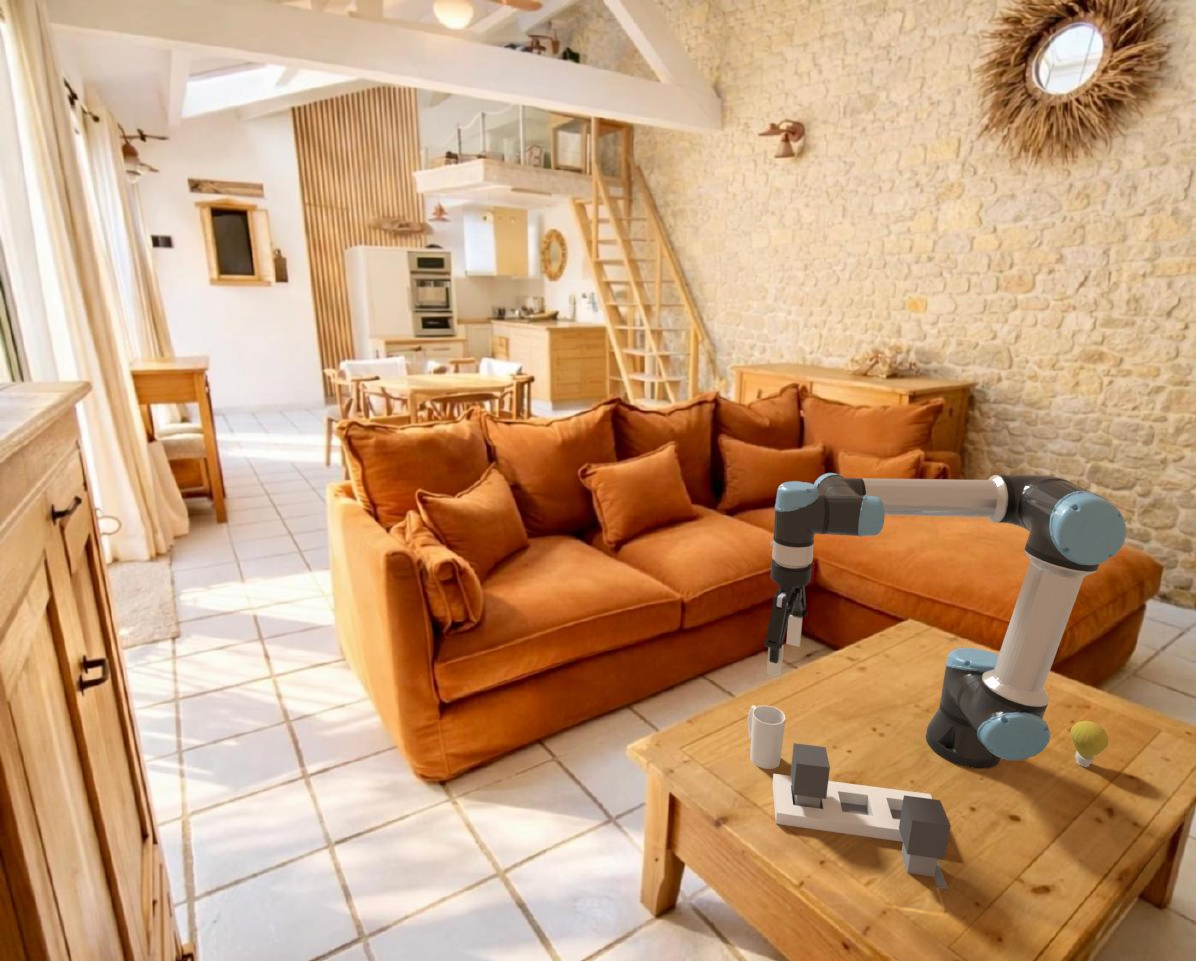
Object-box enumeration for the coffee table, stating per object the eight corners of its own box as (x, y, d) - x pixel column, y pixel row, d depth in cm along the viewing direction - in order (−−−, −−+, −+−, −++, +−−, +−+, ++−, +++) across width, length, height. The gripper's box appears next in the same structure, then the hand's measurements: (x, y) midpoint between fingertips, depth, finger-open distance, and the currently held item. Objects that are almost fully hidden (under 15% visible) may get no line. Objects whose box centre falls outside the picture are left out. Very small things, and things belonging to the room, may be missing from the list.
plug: (930, 855, 123) (940, 800, 120) (940, 883, 117) (950, 825, 114) (895, 850, 124) (903, 795, 121) (903, 877, 118) (912, 820, 115)
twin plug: (819, 798, 136) (825, 747, 133) (823, 820, 130) (829, 767, 127) (788, 794, 137) (793, 743, 134) (791, 816, 131) (796, 763, 128)
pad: (934, 854, 124) (934, 852, 124) (947, 891, 116) (948, 888, 116) (887, 848, 125) (888, 845, 125) (898, 884, 118) (898, 881, 117)
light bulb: (1097, 758, 150) (1107, 719, 147) (1104, 777, 144) (1115, 737, 141) (1061, 750, 153) (1070, 711, 150) (1067, 768, 147) (1076, 728, 144)
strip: (927, 808, 135) (931, 790, 134) (944, 852, 124) (948, 832, 123) (771, 788, 140) (773, 770, 139) (775, 828, 130) (777, 809, 128)
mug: (787, 768, 146) (792, 720, 143) (761, 777, 143) (765, 727, 140) (758, 741, 155) (762, 694, 151) (733, 748, 152) (737, 701, 149)
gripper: (790, 538, 144) (783, 629, 150) (751, 580, 124) (745, 683, 129) (826, 544, 141) (817, 637, 146) (793, 589, 120) (784, 695, 126)
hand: (783, 659), depth 138 cm, fingers open, 13 cm apart
